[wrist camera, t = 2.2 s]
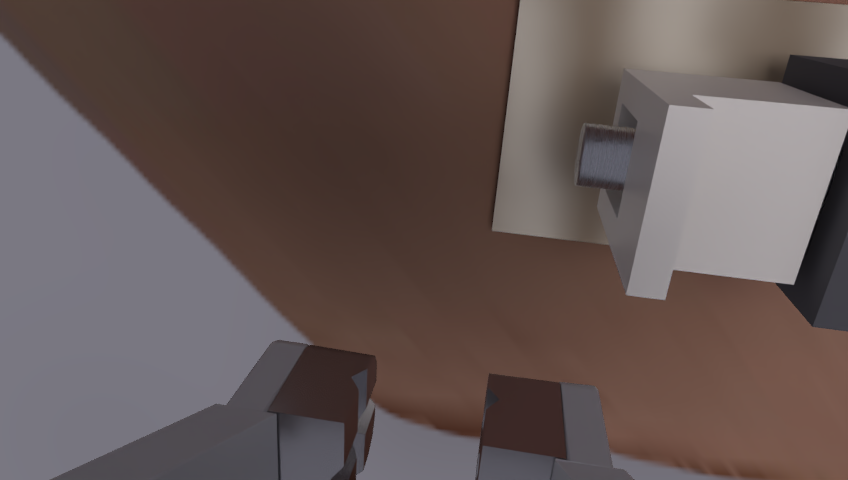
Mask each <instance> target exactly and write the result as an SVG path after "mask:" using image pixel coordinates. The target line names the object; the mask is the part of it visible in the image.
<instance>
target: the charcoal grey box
mask: <svg viewBox="0 0 848 480" xmlns="http://www.w3.org/2000/svg"><path fill="white" fill-rule="evenodd" d="M782 83H783V84H786V85H788V86H791V87H794V88H796V89H799V90H802V91H805V92H807V93H810V94H813V95H816V96H818V97H821V98H824V99H826V100H829V101H832V102H835V103H837V104H840V105H843V106H846V107H848V59H838V58H826V57H814V56H802V55H790V57H789V60H788V63H787V67H786V70H785V74H784V77H783V80H782ZM841 149H844V151H843V154H842V157H841V159H840V162H839V165H838V168H837V171H836V174H835V177H834V179H833V182H832V185H831V188H830V191H829V194H828V197H827V199H826V202H825V205H824V208H823V211H822V213H819V214H818V217H817V220H816V222H815V225H814V228H813V231H812V234H811V237H810V240H809V243H808V245H807V248H806V251H805V254H804V257H803V260H802V263H801V266H800V268H799V271H798V274H797V277H796V280H795V283H794V285H791V284H783V283H776V284H777V286H778V287H779V288H780V289H781V290H782V291H783V293H784V294H785V295H786V296H787V297H788V299H789V300H790V301H791V302H792V303H793V304H794V306H795V307H796V308H797V309H798V310H799V311H800V313H801V314H802V315H803V316H804V317H805V318H806V320H807V321H808V322H809V323H810V324H811V326H812V327H818V328H826V329H834V330H841V331H848V130H847V133H846V136H845V139H844V142H843V145H842V147H841Z"/></svg>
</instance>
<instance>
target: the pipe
mask: <svg viewBox="0 0 848 480" xmlns="http://www.w3.org/2000/svg"><path fill="white" fill-rule="evenodd" d="M635 132H636V128H630V127H620V126H610V125H600V124H590V123H584V124H583V126H582V129H581V132H580V136H579V141H578V146H577V152H576V160H575V169H574V184H575V186H581V187H590V188H599V189H608V190H617V191H623V189H624V184H625V180H626V175H627V170H628V165H629V161H630V156H631V151H632V146H633V141H634V137H635ZM843 151H844V149H841V150H840V153H839V156H838V159H837V162H836V165H835V168H834V171H833V173H832V176H831V179H830V182H829V185H828V188H827V191H826V194H825V196H824V199H823V202H822V205H821V208H820V211H819V213H822V211H823V208H824V205H825V202H826V199H827V197H828V194H829V191H830V188H831V185H832V182H833V179H834V177H835V174H836V171H837V168H838V165H839V162H840V159H841V157H842V154H843Z"/></svg>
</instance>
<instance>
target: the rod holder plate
mask: <svg viewBox="0 0 848 480" xmlns="http://www.w3.org/2000/svg"><path fill="white" fill-rule="evenodd" d="M790 55H802V56H814V57H826V58H838V59H848V5H840V4H827V3H813V2H800V1H787V0H520V6H519V14H518V22H517V30H516V38H515V46H514V55H513V63H512V71H511V79H510V87H509V95H508V103H507V112H506V120H505V128H504V136H503V144H502V152H501V160H500V169H499V177H498V185H497V193H496V201H495V209H494V217H493V225H492V231H498V232H506V233H514V234H522V235H531V236H539V237H547V238H555V239H564V240H572V241H580V242H588V243H596V244H605V245H609V242H608V239H607V236H606V233H605V230H604V227H603V224H602V221H601V218H600V215H599V212H598V209H597V204H598V199H599V194H600V189H599V188H590V187H581V186H575V184H574V169H575V160H576V152H577V146H578V141H579V136H580V132H581V129H582V126H583V124H584V123H590V124H600V125H610V126H613V121H614V116H615V111H616V106H617V101H618V95H619V90H620V85H621V80H622V75H623V70H624V68H626V69H637V70H648V71H660V72H671V73H682V74H693V75H705V76H716V77H727V78H738V79H750V80H761V81H772V82H780V83H782V80H783V77H784V74H785V70H786V67H787V63H788V60H789V57H790Z"/></svg>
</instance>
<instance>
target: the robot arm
mask: <svg viewBox="0 0 848 480" xmlns="http://www.w3.org/2000/svg"><path fill="white" fill-rule="evenodd" d="M376 373H377V361H376V357H375V356H374V355H368V354H362V353H356V352H350V351H345V350H339V349H333V348H327V347H321V346H315V345H310V346H309V345H308V344H303V343H296V342H289V341H282V340H277V341H274V342H272V343H271V344H270V345H269V347H268V348H267V350H266V351H265V352H264V354H263V355H262V356H261V358H260V359H259V361H258V362H257V363H256V365H255V366H254V367H253V369H252V370H251V372H250V373H249V374H248V376H247V377H246V379H245V380H244V381H243V383H242V384H241V385H240V387H239V389H238V390H237V391H236V392H235V394H234V395H233V397H232V398H231V400H230V401H229V402H228V404H227V405H220V404H215V405H213V406H210V407H208V408H206V409H204V410H202V411H199V412H197V413H195V414H193V415H191V416H189V417H186V418H184V419H182V420H180V421H178V422H176V423H173V424H171V425H169V426H167V427H164V428H162V429H160V430H158V431H156V432H153V433H152V434H149V435H147V436H145V437H143V438H140V439H139V440H136V441H134V442H132V443H129V444H127V445H125V446H123V447H121V448H118V449H117V450H114V451H112V452H110V453H107V454H106V455H103V456H101V457H99V458H97V459H94V460H92V461H90V462H88V463H86V464H83V465H81V466H79V467H77V468H75V469H72V470H70V471H68V472H66V473H64V474H61V475H59V476H57V477H55V478H53V479H51V480H356V475H357V474H358V473H360V472H362V471H363V470H364V466H365V464H366V460H367V457H368V454H369V449H370V444H371V439H372V434H373V427H374V417H375V405H374V403H373V402H372V400H371V399H370V397H371V394H372V391H373V388H374V386H375V383H376ZM475 480H634V479H633V478H632V477H631V476H630V475H629V474H628V473H627V472H626V471H625V470H623V469H617V468H613V465H612V460H611V454H610V449H609V444H608V439H607V433H606V428H605V423H604V417H603V412H602V407H601V402H600V396H599V391H598V389H597V388H596V387H595V386H591V385H582V384H574V383H565V382H551V381H543V380H536V379H528V378H521V377H513V376H505V375H498V374H490V373H489V376H488V383H487V390H486V397H485V406H484V415H483V422H482V428H481V436H480V444H479V452H478V459H477V469H476V478H475Z"/></svg>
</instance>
